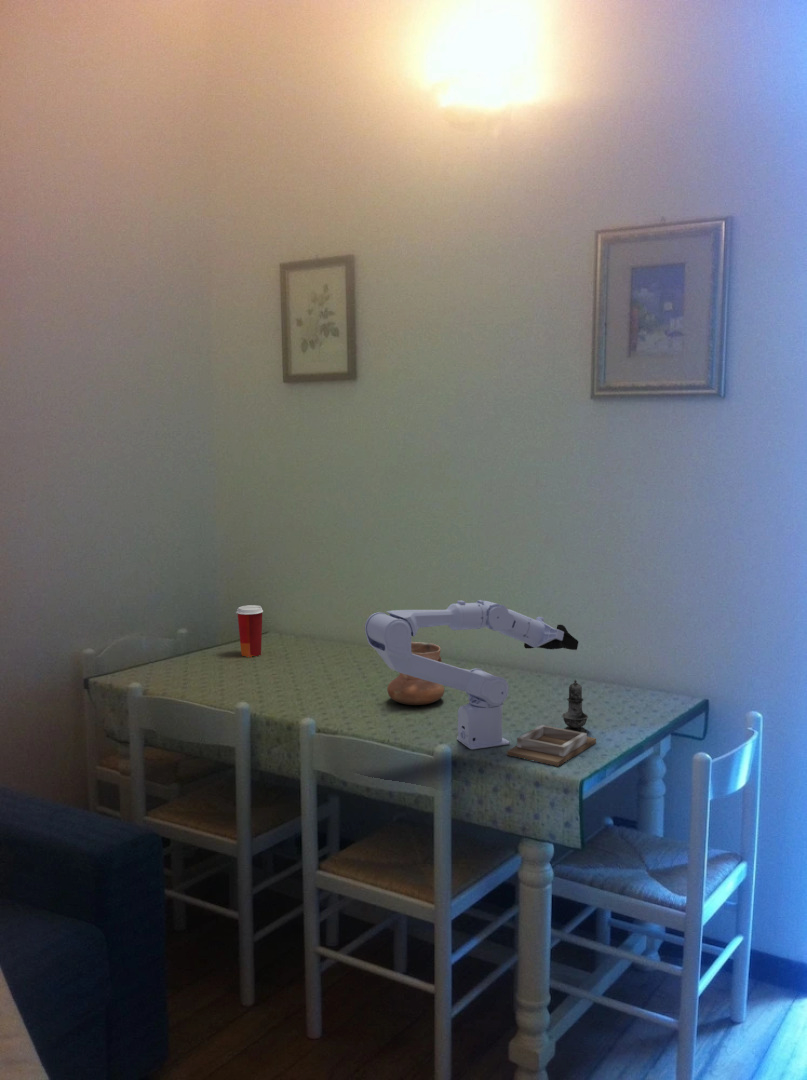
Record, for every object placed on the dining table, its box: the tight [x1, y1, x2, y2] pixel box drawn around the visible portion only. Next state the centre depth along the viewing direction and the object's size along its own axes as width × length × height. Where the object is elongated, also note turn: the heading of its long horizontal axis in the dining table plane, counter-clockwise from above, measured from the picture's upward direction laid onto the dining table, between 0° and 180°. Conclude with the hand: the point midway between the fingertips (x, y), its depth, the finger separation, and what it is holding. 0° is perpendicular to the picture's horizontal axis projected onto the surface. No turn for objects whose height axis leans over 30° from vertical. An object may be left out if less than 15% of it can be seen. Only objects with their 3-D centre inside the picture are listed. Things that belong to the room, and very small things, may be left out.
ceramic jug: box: [386, 641, 445, 706], centre depth 245 cm, size 18×14×14 cm
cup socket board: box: [506, 724, 597, 767], centre depth 208 cm, size 18×12×3 cm, turn 144°
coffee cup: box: [235, 604, 264, 658], centre depth 297 cm, size 8×8×15 cm
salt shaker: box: [561, 679, 589, 733], centre depth 219 cm, size 6×6×12 cm
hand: (565, 645), depth 221 cm, fingers open, 7 cm apart
